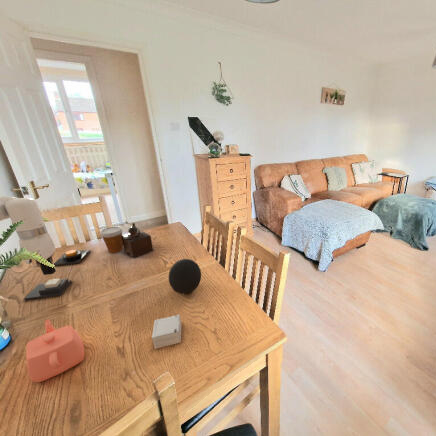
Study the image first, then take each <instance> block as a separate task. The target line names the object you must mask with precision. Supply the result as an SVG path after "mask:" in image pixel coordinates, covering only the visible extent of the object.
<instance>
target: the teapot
mask: <svg viewBox="0 0 436 436" xmlns="http://www.w3.org/2000/svg"><path fill="white" fill-rule="evenodd" d="M44 326H45V333H44V334H41V335H39V336H37V337H35V338H33V339H31V340H30V341H28V342H27V344H26V350H25V351H26V353H25V355H26V367H27V372H28V377H29V378H30V380H31V381H33V382H34V383H41V382H44V381H46V380H49V379H50V378H54V377H56V376H57V375H60V374H62V373H64V372H66V371H68V370H69V369H71V368H73V367H75V366H76V365H78V364H80V363H81V362H82V361H83V360H84V359H85V347H84V343H83V340H82V338H81V336H80V334H79V332H77V330H76V329H75V328H74V327H73V326H71V325H65V326H62V327H59V328H55V327H54V326H53V323H52V321H51V320H50V319H46V320H45V321H44Z"/></svg>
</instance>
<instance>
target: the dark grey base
mask: <svg viewBox="0 0 436 436" xmlns="http://www.w3.org/2000/svg"><path fill="white" fill-rule="evenodd" d="M60 279H61V283H60V284H59V285H58V286H57V287H52V288H45V286H44V285H45V284H46V283H47V282H44V283H38V284H37V285H36V286H35V287H34V288H32V289H31V291H29V293H27V295H26V296H25V297H24V298H23V300H24V302H26V301H34V300H42V299H49V298H59V297H61V296H62V295H63V294H64V292H65V291H66V290H67V289H68V288H69V287H70V285H72V280H71V279H68V278H60Z"/></svg>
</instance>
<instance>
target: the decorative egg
mask: <svg viewBox="0 0 436 436" xmlns="http://www.w3.org/2000/svg"><path fill="white" fill-rule="evenodd" d="M201 280H202V270H201V268H200V266H199V264H198V263H197V262H196V261H194V260H192V259H190V258H183V259H179V260H177V261H175V263H174V264H173V265H172V266H171V267H170V269H169V271H168V283H169V286H170V287H171V289H172V290H173V291H174V292H176V293H178V294H180V295H181V294H182V295H188V294H191V293H192V292H194V291H195V290H196V289H198V287H199V286H200V283H201Z"/></svg>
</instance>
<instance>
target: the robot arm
mask: <svg viewBox="0 0 436 436" xmlns="http://www.w3.org/2000/svg"><path fill="white" fill-rule="evenodd" d="M7 219H10V222H11V223H12V225H13V224H14V223H17V222H19V221H21V220H23V223H24V224H21V225H20V226H18V227H17V228H16V230H15V232H16V234H17V237H18V244H19V249H20V250H21V248H22V247H25V248H26V250H27V251H30V252H38V255H40V256H42V257H43V258H45V259H46V260H47V261H48V262H50V263H51V264H54V259H53V256H54V254H55V252H56V249H57V248H56V246H55V243H54V241H53V239H52V237H51V234H50V233H49V231H48V229H47V225H46V223H45V221H44V219H43V216H42V213H41V211H40V208H39V205H38V202H37V200H36V199H34V198H32V197H15V196H9V195H5V196H4V195H3V196H0V222H1V221H4V220H7ZM24 219H25V220H24ZM24 262H25V264H26V265H29V264H32V267H33V268H34V269H35V268H40V270H41V272H42V274H43V275H44V276H48V275H53V274H55V273H56V272H57V270H56V268H55V266H54V267H53V268H52V267H49V266H47V265H44V264H42V263H40V262H38V261H37V260H34V259H28V260H24Z"/></svg>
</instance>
